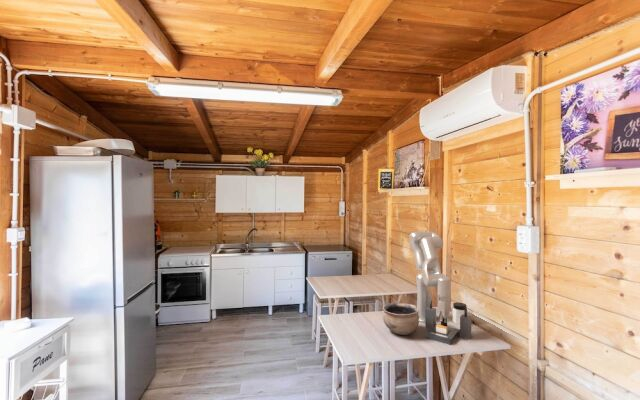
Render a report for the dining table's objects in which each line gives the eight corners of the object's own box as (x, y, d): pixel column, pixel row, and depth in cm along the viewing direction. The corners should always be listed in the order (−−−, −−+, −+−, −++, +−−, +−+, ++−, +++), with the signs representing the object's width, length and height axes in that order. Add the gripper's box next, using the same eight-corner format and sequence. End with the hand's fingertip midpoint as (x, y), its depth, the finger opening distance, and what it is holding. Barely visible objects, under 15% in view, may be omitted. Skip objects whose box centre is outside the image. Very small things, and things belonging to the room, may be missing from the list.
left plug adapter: (425, 327, 202) (425, 300, 202) (428, 325, 206) (428, 298, 206) (433, 329, 199) (433, 302, 199) (436, 327, 203) (436, 300, 203)
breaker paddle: (435, 331, 189) (435, 325, 189) (437, 330, 190) (437, 324, 190) (446, 334, 185) (446, 328, 185) (447, 332, 187) (447, 326, 187)
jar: (452, 323, 209) (452, 305, 209) (452, 319, 216) (452, 301, 216) (467, 325, 205) (467, 307, 205) (466, 321, 213) (467, 303, 213)
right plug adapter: (459, 336, 188) (460, 307, 188) (462, 334, 192) (462, 305, 192) (468, 339, 185) (469, 309, 185) (471, 336, 189) (471, 307, 189)
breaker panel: (425, 337, 187) (425, 332, 187) (436, 328, 201) (436, 323, 201) (450, 344, 178) (450, 339, 178) (460, 334, 192) (460, 329, 192)
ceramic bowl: (421, 341, 182) (421, 315, 182) (382, 338, 186) (382, 312, 186) (417, 326, 204) (417, 303, 204) (382, 323, 208) (382, 300, 208)
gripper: (441, 294, 198) (441, 323, 198) (433, 299, 187) (433, 331, 187) (454, 296, 193) (454, 326, 193) (446, 302, 182) (446, 334, 182)
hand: (444, 328), depth 190 cm, fingers closed
